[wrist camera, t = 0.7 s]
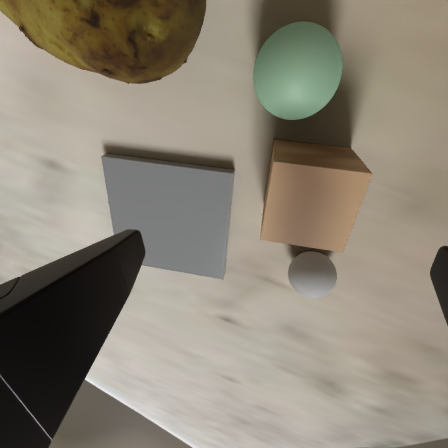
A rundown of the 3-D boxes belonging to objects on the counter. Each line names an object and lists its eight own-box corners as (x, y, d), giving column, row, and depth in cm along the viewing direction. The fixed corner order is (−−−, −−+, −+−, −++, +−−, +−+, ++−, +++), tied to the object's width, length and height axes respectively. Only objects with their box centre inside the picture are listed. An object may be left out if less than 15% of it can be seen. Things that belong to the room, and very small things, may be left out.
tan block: (350, 147, 18) (372, 173, 14) (330, 213, 21) (343, 252, 17) (274, 138, 19) (273, 161, 14) (263, 204, 21) (260, 239, 17)
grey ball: (337, 246, 22) (347, 276, 19) (325, 279, 24) (332, 312, 21) (292, 239, 22) (294, 267, 19) (284, 273, 24) (284, 303, 21)
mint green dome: (342, 30, 15) (354, 24, 13) (321, 114, 17) (329, 124, 15) (262, 25, 16) (259, 18, 13) (253, 107, 18) (248, 115, 15)
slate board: (234, 169, 20) (233, 173, 20) (224, 273, 25) (223, 279, 25) (107, 153, 21) (101, 156, 21) (122, 256, 26) (118, 261, 26)
